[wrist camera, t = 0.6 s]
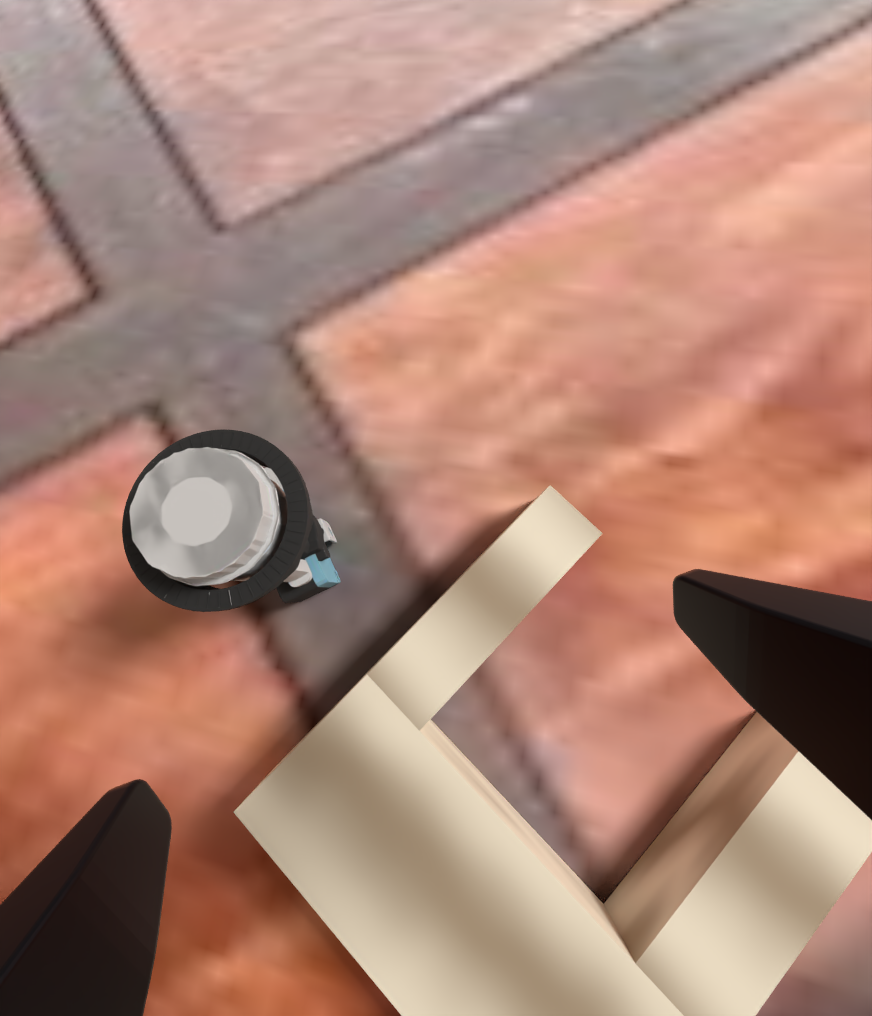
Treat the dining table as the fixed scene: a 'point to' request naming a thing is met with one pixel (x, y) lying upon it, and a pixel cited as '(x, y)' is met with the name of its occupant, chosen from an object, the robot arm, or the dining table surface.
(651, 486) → the dining table surface
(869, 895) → the dining table surface
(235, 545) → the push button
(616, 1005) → the notched board
